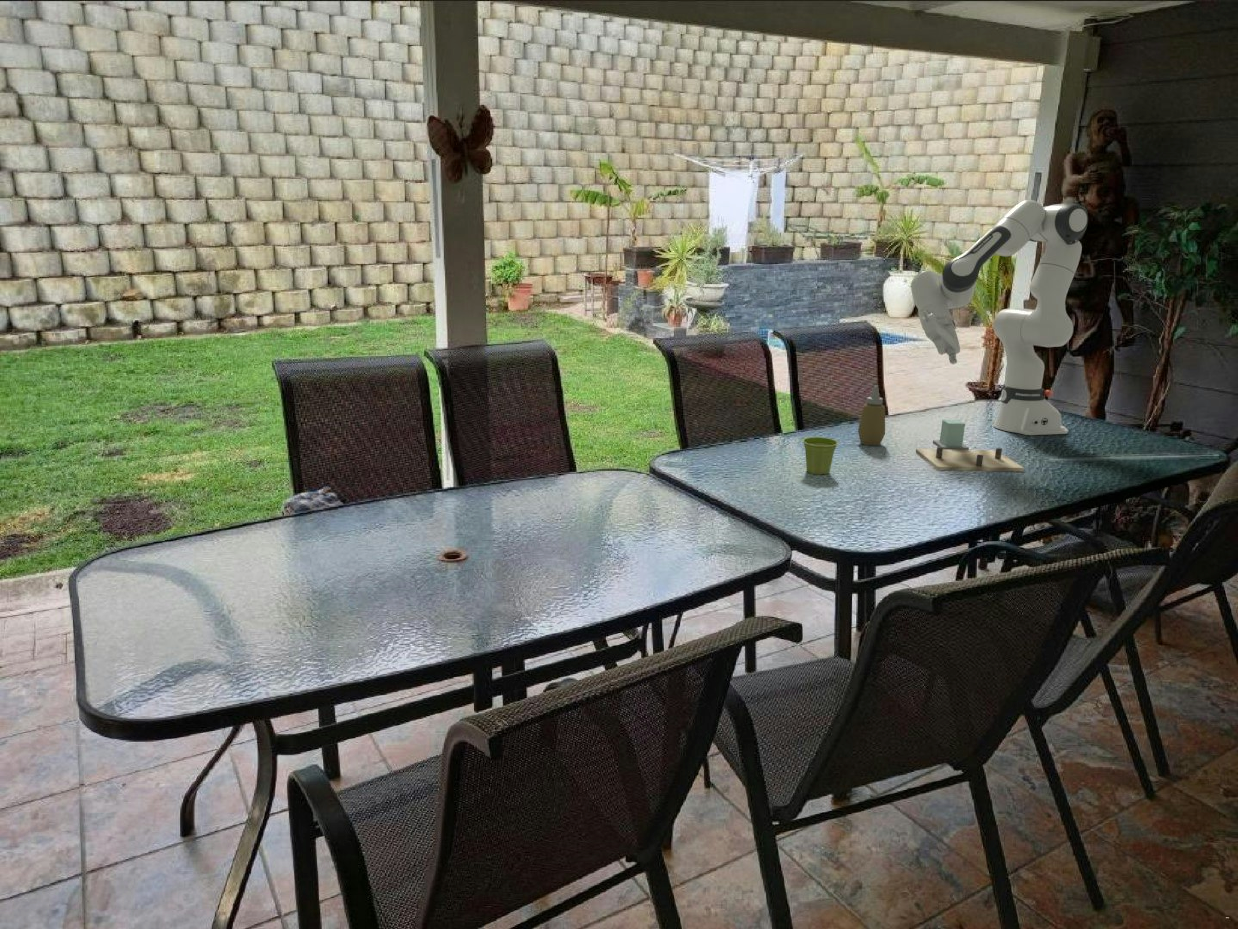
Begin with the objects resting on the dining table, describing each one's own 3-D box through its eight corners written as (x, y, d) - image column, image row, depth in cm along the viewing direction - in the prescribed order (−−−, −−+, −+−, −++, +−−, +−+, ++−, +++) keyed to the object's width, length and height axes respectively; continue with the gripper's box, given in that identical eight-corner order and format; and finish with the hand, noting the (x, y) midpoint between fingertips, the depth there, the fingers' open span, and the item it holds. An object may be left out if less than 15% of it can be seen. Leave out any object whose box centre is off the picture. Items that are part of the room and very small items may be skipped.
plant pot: (795, 473, 234) (798, 442, 231) (805, 464, 242) (808, 435, 239) (830, 479, 230) (833, 447, 227) (839, 470, 238) (841, 439, 235)
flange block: (958, 443, 267) (961, 418, 265) (968, 450, 259) (972, 425, 257) (932, 443, 267) (935, 418, 265) (942, 450, 259) (945, 424, 257)
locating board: (996, 453, 256) (997, 440, 255) (1023, 471, 239) (1025, 457, 238) (915, 452, 256) (917, 439, 255) (937, 470, 239) (939, 456, 238)
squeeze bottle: (887, 447, 261) (893, 389, 256) (860, 447, 261) (866, 388, 256) (879, 440, 269) (886, 383, 263) (853, 440, 269) (859, 383, 263)
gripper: (932, 302, 255) (945, 342, 250) (957, 325, 271) (970, 364, 265) (912, 312, 259) (925, 351, 254) (938, 334, 274) (950, 372, 269)
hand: (948, 358), depth 260 cm, fingers open, 8 cm apart
